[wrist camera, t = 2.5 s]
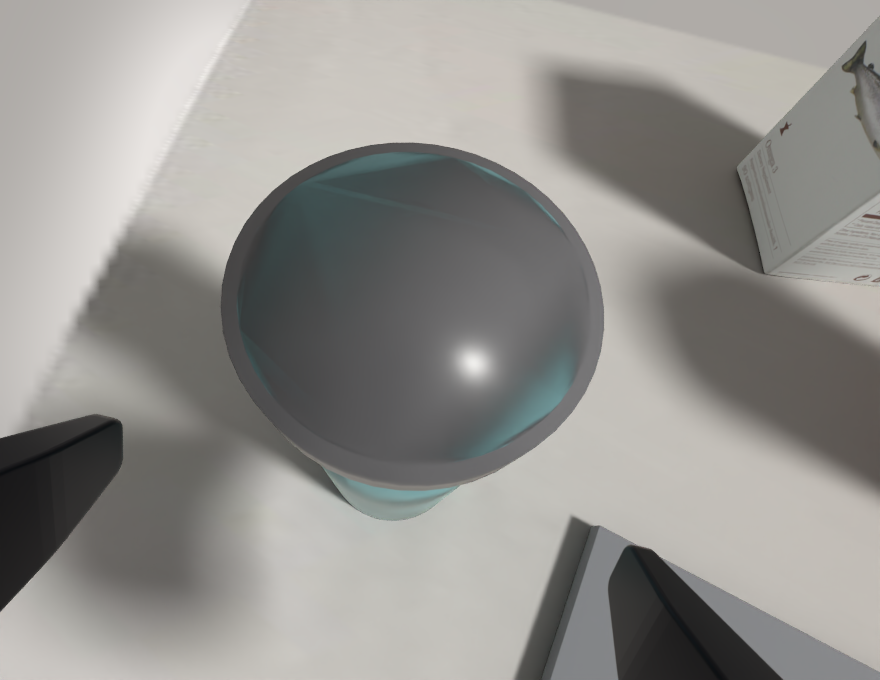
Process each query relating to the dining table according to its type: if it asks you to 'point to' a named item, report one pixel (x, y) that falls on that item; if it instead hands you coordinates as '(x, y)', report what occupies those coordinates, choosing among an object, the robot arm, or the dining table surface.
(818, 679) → the mat
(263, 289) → the teal capped cylinder
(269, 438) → the dining table surface
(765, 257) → the supplement box
